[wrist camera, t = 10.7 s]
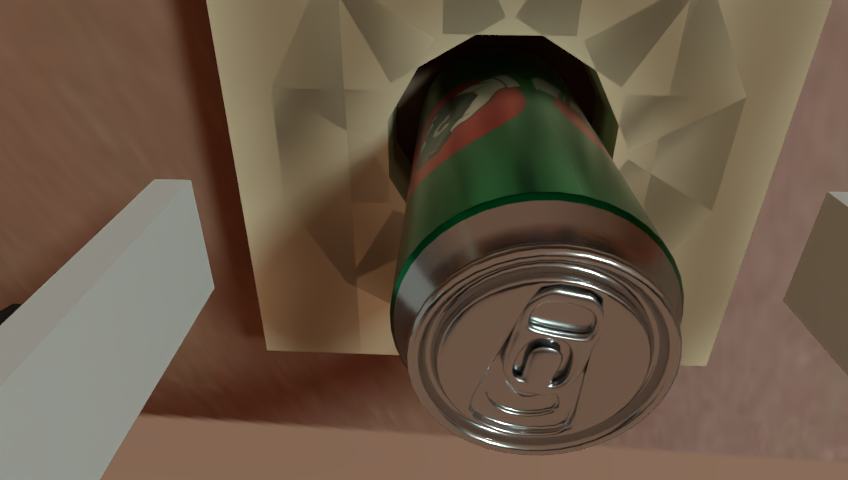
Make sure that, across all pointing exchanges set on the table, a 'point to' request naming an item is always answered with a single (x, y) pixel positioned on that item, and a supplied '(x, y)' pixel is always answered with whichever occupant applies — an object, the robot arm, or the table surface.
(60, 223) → the table surface
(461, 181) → the soda can
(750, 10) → the hub block
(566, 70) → the table surface
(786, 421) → the table surface
